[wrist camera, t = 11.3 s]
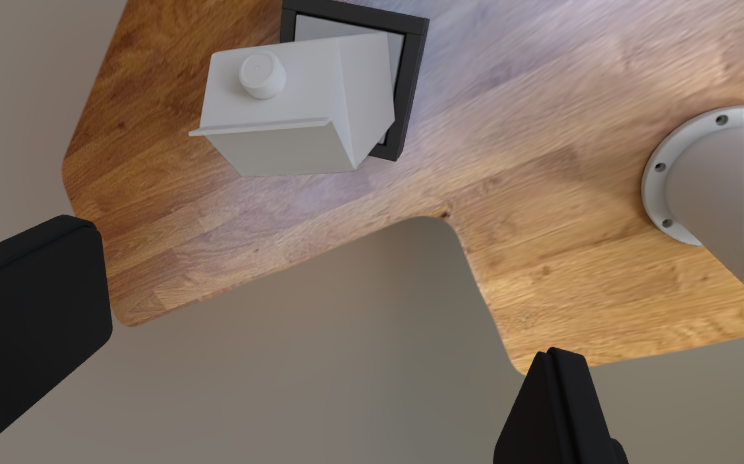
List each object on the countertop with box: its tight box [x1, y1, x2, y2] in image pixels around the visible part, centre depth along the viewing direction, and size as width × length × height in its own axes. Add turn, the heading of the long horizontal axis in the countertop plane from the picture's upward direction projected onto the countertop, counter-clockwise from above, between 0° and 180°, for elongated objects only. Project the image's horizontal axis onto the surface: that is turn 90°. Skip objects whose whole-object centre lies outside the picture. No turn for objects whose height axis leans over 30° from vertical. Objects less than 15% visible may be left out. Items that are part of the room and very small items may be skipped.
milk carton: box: [188, 32, 395, 177], centre depth 29 cm, size 7×7×19 cm
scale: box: [280, 0, 430, 162], centre depth 40 cm, size 12×12×4 cm
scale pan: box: [295, 15, 405, 144], centre depth 39 cm, size 9×9×2 cm
